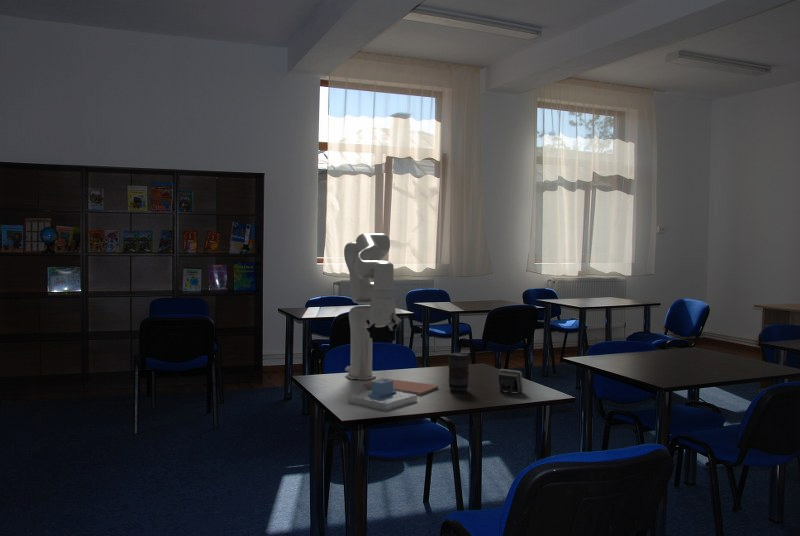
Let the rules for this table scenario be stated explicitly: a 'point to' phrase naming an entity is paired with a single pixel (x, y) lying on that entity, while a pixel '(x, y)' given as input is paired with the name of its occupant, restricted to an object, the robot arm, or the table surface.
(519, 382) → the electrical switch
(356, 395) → the plate
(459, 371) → the camera lens
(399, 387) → the notebook
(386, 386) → the servo
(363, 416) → the table surface
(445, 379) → the table surface
